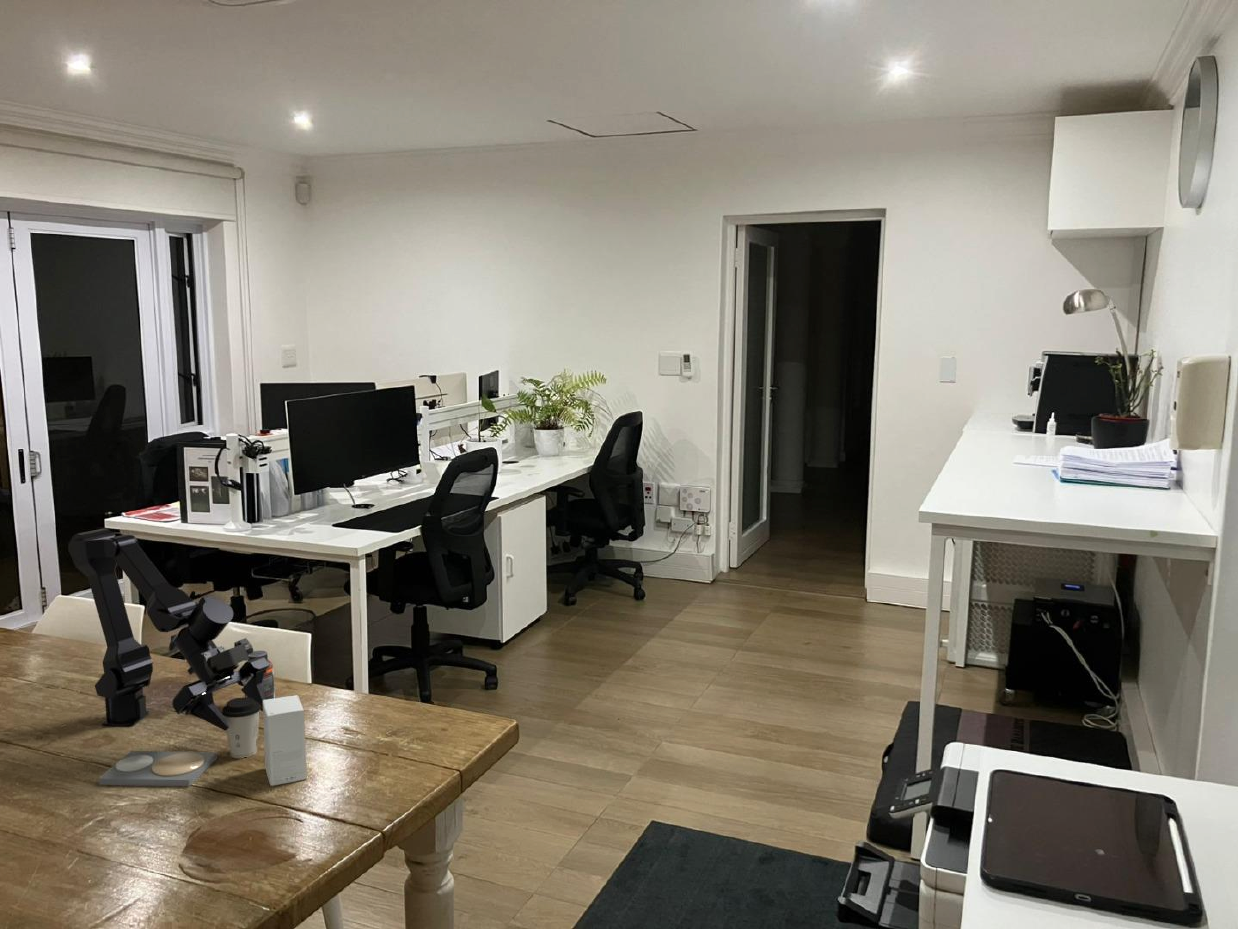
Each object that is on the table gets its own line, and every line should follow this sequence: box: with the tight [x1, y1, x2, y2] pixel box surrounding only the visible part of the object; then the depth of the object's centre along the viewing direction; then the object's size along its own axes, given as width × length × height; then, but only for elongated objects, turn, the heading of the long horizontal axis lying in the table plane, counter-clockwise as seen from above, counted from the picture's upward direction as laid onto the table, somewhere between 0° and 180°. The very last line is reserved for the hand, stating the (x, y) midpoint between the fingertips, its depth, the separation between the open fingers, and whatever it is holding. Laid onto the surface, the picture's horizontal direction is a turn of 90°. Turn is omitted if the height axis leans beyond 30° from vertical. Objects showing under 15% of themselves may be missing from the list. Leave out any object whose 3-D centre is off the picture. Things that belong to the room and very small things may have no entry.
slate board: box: [98, 750, 218, 788], centre depth 174 cm, size 16×11×2 cm
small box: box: [262, 694, 308, 787], centre depth 173 cm, size 8×6×13 cm
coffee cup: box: [221, 697, 261, 759], centre depth 181 cm, size 7×7×10 cm
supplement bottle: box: [244, 650, 276, 700], centre depth 204 cm, size 6×6×11 cm
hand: (247, 720), depth 180 cm, fingers open, 9 cm apart
